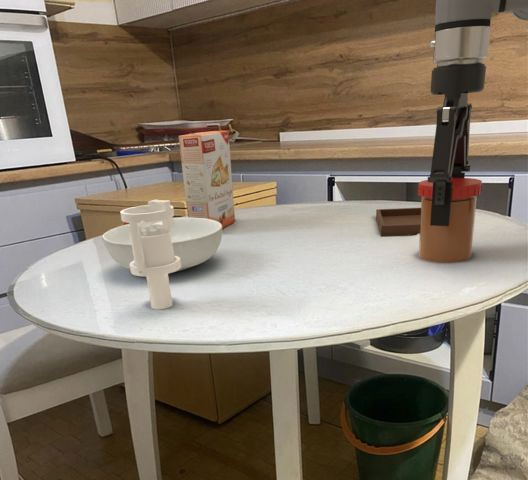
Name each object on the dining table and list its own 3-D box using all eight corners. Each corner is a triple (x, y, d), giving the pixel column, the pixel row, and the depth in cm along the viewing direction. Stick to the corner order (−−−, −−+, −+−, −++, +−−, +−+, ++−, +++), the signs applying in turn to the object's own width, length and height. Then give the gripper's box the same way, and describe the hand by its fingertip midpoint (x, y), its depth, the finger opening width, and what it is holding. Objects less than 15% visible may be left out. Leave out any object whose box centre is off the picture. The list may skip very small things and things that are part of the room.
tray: (451, 233, 105) (452, 223, 104) (380, 236, 107) (381, 225, 106) (437, 216, 120) (438, 206, 119) (376, 218, 122) (376, 209, 122)
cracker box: (212, 235, 118) (201, 133, 109) (188, 234, 120) (176, 135, 111) (237, 221, 130) (229, 129, 121) (215, 221, 132) (205, 130, 123)
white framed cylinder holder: (169, 316, 73) (152, 205, 67) (127, 312, 76) (107, 205, 70) (195, 299, 79) (181, 195, 73) (155, 296, 82) (139, 195, 75)
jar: (476, 254, 91) (483, 184, 86) (462, 267, 85) (469, 192, 80) (428, 249, 95) (432, 183, 90) (411, 262, 89) (414, 191, 84)
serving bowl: (128, 293, 84) (120, 250, 81) (97, 265, 101) (90, 229, 98) (245, 267, 93) (242, 228, 90) (198, 246, 110) (194, 212, 107)
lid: (481, 198, 80) (482, 186, 79) (415, 199, 83) (415, 187, 82) (480, 188, 88) (481, 176, 87) (420, 189, 91) (421, 178, 90)
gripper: (448, 67, 88) (438, 205, 98) (413, 64, 71) (405, 232, 80) (497, 63, 85) (481, 206, 94) (473, 59, 67) (457, 235, 77)
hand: (446, 218), depth 87 cm, fingers closed on lid, 9 cm apart
